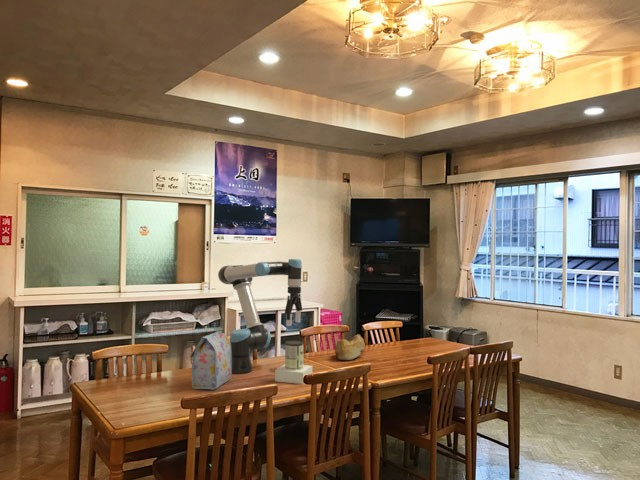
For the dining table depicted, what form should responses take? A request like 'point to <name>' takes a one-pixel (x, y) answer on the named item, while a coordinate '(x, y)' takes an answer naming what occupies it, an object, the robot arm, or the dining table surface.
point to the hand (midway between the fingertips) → (293, 324)
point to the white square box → (292, 374)
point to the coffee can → (294, 355)
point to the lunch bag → (211, 361)
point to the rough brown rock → (349, 348)
